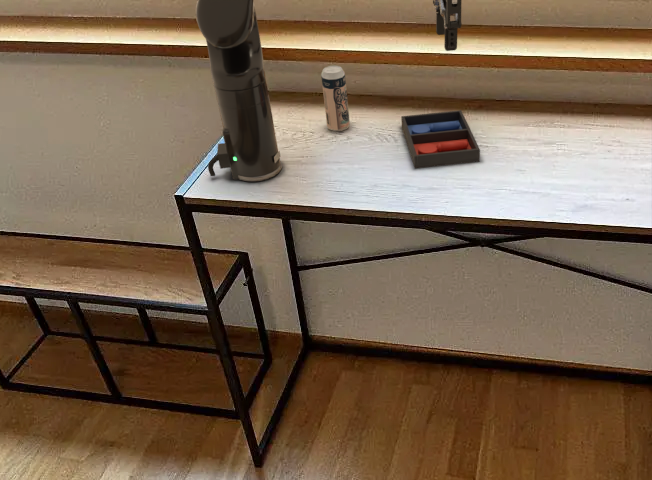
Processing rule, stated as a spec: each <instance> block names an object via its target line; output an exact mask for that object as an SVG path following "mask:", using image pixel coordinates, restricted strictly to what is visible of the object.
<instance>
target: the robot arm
mask: <svg viewBox="0 0 652 480" xmlns="http://www.w3.org/2000/svg"><path fill="white" fill-rule="evenodd" d="M432 4H433V6H434V11H435V19H436V20H435V24H436V25H435V32H436V34H437V35H438V36H444V42H443V43H444V50H445V51H446V52H450V51H451V52H453V51H457V49H458V29H461V28H462V0H432ZM452 16H453V18H454V20H451V17H452ZM195 18H196V23H197V26H198V29H199V31H200V33H201V35H202V36H203V37H204V38H205V40H206V47H207V51H208V52H207V53H208V59H209V70H210V71H209V72H210V76H211V80H212V85H213V88H214V93H215V97H216V102H217V106H218V111H219V115H220V121H221V124H222V137H223V142H221V143H217V152H216V155H215V156H214V157H212V158H211V159H210V160H209V162H208V164H207V170H208V173H209V176H210V177H215V176H216V172H215V170H214V166H215V164H216V163H217V162H218V164H219V168H220V169H221V170H223V169H230V172H231V177H232V180H234V181H236V180H240V181H243V182H261V181H266V180H269V179H271V178H273V177H275V176H277V175H278V174H279V173H280V172H281V170H282V162H281V152H280V151H281V150H279V148H278V141H277V136H276V135H277V134H276V129H275V123H274V118H273V112H272V106H271V100H270V95H269V90H268V84H267V83H268V82H267V78H266V72H265V64H264V55H263V54H264V53H263V48H262V43H261V35H260V29H259V24H258V18H257V12H256V6H255V2H254V0H197V1H196V5H195Z"/></svg>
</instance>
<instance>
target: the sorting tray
mask: <svg viewBox="0 0 652 480" xmlns="http://www.w3.org/2000/svg"><path fill="white" fill-rule="evenodd" d="M400 120H401V130H402V132H403V136H404V139H405V143H406V146H407V148H408V151H409V155H410V158H411V161H412V165H413V167H414V169H424V168H433V167H434V168H435V167H443V166H453V165H461V164H472V163H479V162H480V161H481V160H480V159H481V158H480V155H481V148H480V147H479V145H478V142H477V140H476V138H475V136H474V133H473V132H472V130H471V127H470V126H469V123H468V121H467V119H466V118H465V115H464V113H463V111H462V109H460V110H450V111H439V112H430V113H429V112H428V113H420V114H410V115H401V119H400ZM454 121H457V122H459V124H460V127H459V129H457V130H448V131H438V132H431V131H430V133H421V134H412V127H414V126H416V125H427V126H430V125H431V124H435V123H445V122H454ZM455 141H467V142H468V147H467V148H466V149H461V150H452V151H442V152H439V151H438V153H429V154H420V155H419V153H418V148H419V146H421V145H423V144H434V145H437V144H438V143H445V142H455Z"/></svg>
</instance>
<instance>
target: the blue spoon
mask: <svg viewBox="0 0 652 480" xmlns="http://www.w3.org/2000/svg"><path fill="white" fill-rule="evenodd" d="M459 127H460V124H459V122H457V121H454V122H445V123H435V124H431V125H430V126H427V125H416V126H414V127H412V134H421V133H430V131H431V132H438V131H448V130H457V129H459Z"/></svg>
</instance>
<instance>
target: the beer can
mask: <svg viewBox="0 0 652 480" xmlns="http://www.w3.org/2000/svg"><path fill="white" fill-rule="evenodd" d="M321 71H322V72H321V73H320V77H321V85H322V86H321V87H322V93H323V95H322V96H323V102H324V111H325V118H326V127H327V129H328V130H331V131H333V132H343V131H346V130H347V129H348V128H349V127H350V125H351V122H350V110H349V101H348V91H347V90H348V89H347V81H346V79H347V78H346V72H345V71H344V69H343V67H342V66H340V65H329V66H325V67H324V68H323V69H322V70H321Z"/></svg>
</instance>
